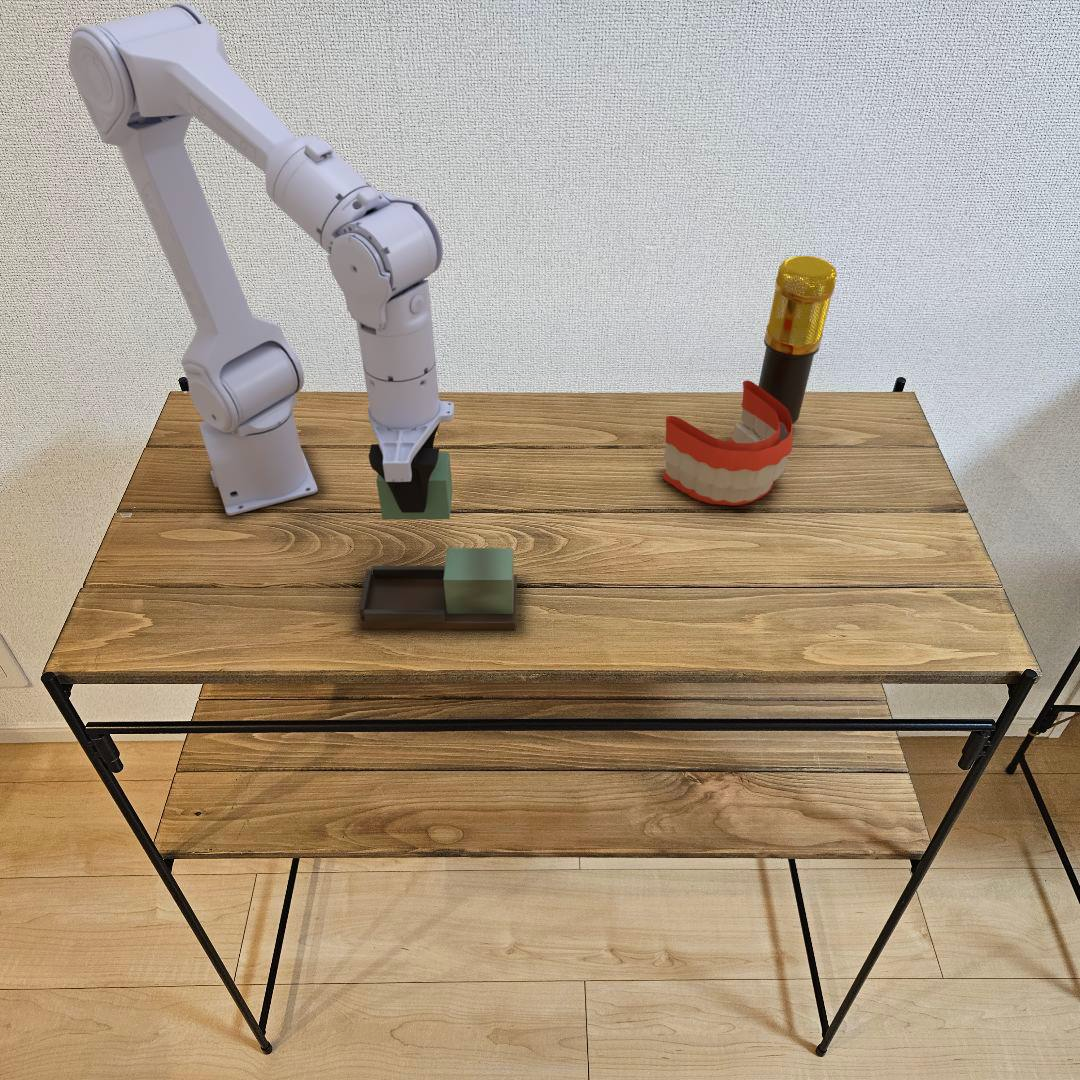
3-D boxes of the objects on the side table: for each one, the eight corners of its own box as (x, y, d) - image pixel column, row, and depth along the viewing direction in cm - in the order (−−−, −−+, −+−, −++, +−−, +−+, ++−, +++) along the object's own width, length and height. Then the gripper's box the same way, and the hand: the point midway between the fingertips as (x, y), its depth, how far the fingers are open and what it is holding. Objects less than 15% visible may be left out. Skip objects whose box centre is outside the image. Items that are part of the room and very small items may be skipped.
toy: (723, 532, 90) (735, 470, 84) (655, 479, 96) (662, 418, 90) (807, 485, 95) (823, 424, 90) (737, 438, 101) (749, 378, 96)
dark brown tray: (361, 629, 80) (352, 587, 76) (370, 581, 85) (362, 540, 81) (515, 629, 80) (514, 587, 76) (517, 582, 85) (516, 540, 81)
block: (382, 519, 79) (376, 480, 76) (387, 490, 82) (381, 452, 79) (449, 519, 79) (446, 480, 76) (452, 490, 82) (449, 451, 79)
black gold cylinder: (867, 438, 101) (919, 275, 88) (754, 443, 101) (788, 280, 87) (850, 409, 106) (897, 249, 92) (742, 414, 105) (772, 253, 91)
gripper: (443, 415, 65) (455, 549, 74) (455, 316, 75) (464, 444, 85) (346, 415, 65) (370, 549, 74) (372, 316, 75) (390, 444, 85)
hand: (415, 493), depth 79 cm, fingers closed on block, 4 cm apart
